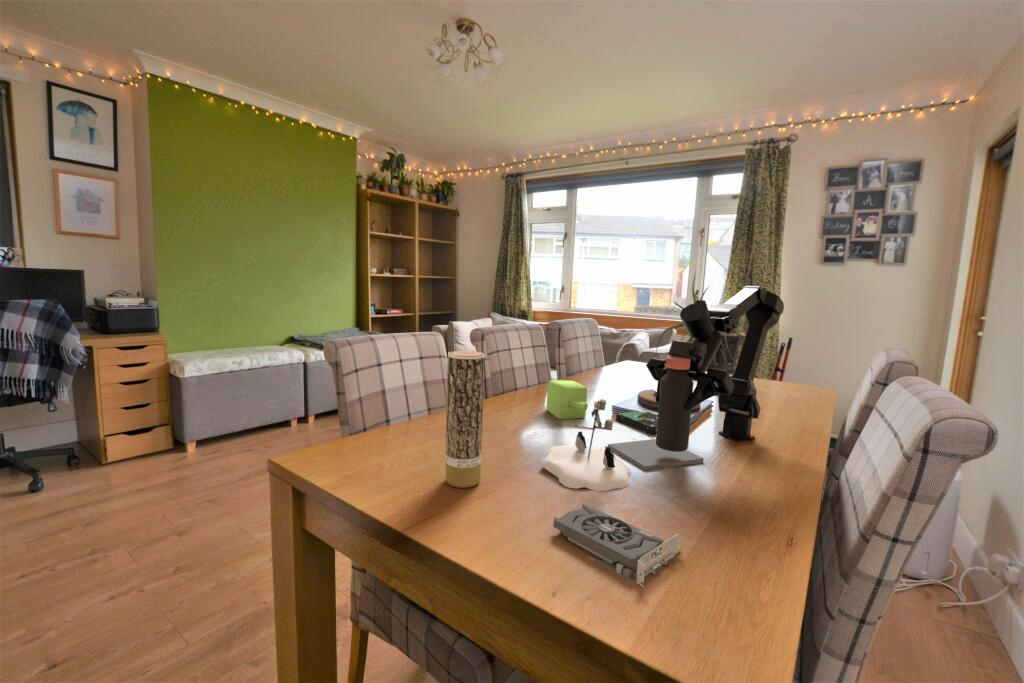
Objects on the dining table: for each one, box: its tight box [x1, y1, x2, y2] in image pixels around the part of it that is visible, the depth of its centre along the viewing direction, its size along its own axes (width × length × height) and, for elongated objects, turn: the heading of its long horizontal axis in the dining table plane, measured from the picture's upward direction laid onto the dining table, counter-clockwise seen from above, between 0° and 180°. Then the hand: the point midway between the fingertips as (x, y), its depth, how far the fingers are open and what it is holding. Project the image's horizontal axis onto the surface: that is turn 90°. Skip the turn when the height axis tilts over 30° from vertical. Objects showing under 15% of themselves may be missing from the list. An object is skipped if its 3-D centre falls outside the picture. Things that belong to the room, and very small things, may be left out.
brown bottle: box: [655, 355, 694, 452], centre depth 102 cm, size 7×7×20 cm
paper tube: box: [444, 350, 485, 489], centre depth 88 cm, size 7×7×25 cm
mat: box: [607, 438, 704, 472], centre depth 108 cm, size 16×14×1 cm
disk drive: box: [615, 409, 658, 436], centre depth 131 cm, size 10×3×15 cm
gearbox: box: [546, 379, 589, 420], centre depth 138 cm, size 18×10×10 cm, turn 16°
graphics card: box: [553, 504, 682, 588], centre depth 70 cm, size 17×4×12 cm
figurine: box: [541, 399, 632, 492], centre depth 96 cm, size 20×18×16 cm
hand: (671, 405), depth 101 cm, fingers closed on brown bottle, 7 cm apart
